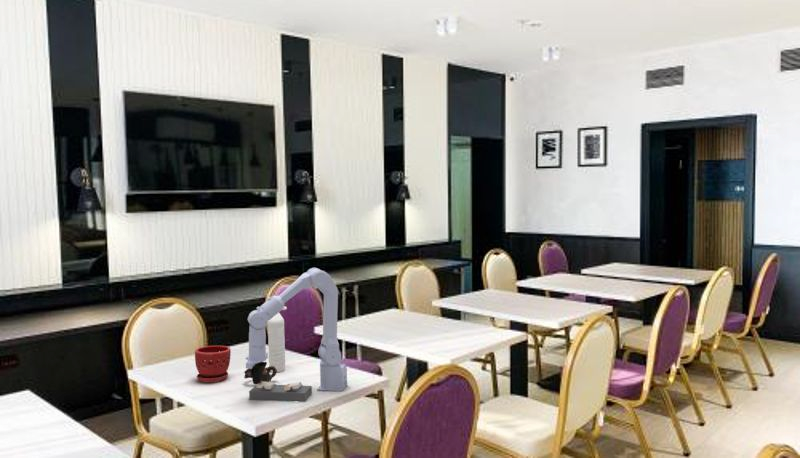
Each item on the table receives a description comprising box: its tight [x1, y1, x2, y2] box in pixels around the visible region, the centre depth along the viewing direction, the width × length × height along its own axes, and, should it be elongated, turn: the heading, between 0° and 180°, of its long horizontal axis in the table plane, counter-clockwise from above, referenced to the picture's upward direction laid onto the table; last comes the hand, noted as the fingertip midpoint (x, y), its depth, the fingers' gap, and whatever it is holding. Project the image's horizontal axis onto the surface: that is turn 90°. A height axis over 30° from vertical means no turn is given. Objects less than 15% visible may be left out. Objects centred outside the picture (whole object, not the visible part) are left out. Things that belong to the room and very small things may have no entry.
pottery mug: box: [243, 366, 278, 386], centre depth 235 cm, size 12×10×8 cm
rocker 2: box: [284, 381, 302, 391], centre depth 216 cm, size 5×4×2 cm
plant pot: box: [194, 345, 232, 383], centre depth 241 cm, size 13×13×12 cm
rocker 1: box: [257, 381, 275, 389], centre depth 218 cm, size 5×4×2 cm
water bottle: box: [267, 306, 288, 373], centre depth 252 cm, size 9×6×25 cm
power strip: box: [248, 383, 313, 403], centre depth 219 cm, size 20×8×3 cm, turn 80°
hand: (256, 383), depth 218 cm, fingers closed, pressing on rocker 1
